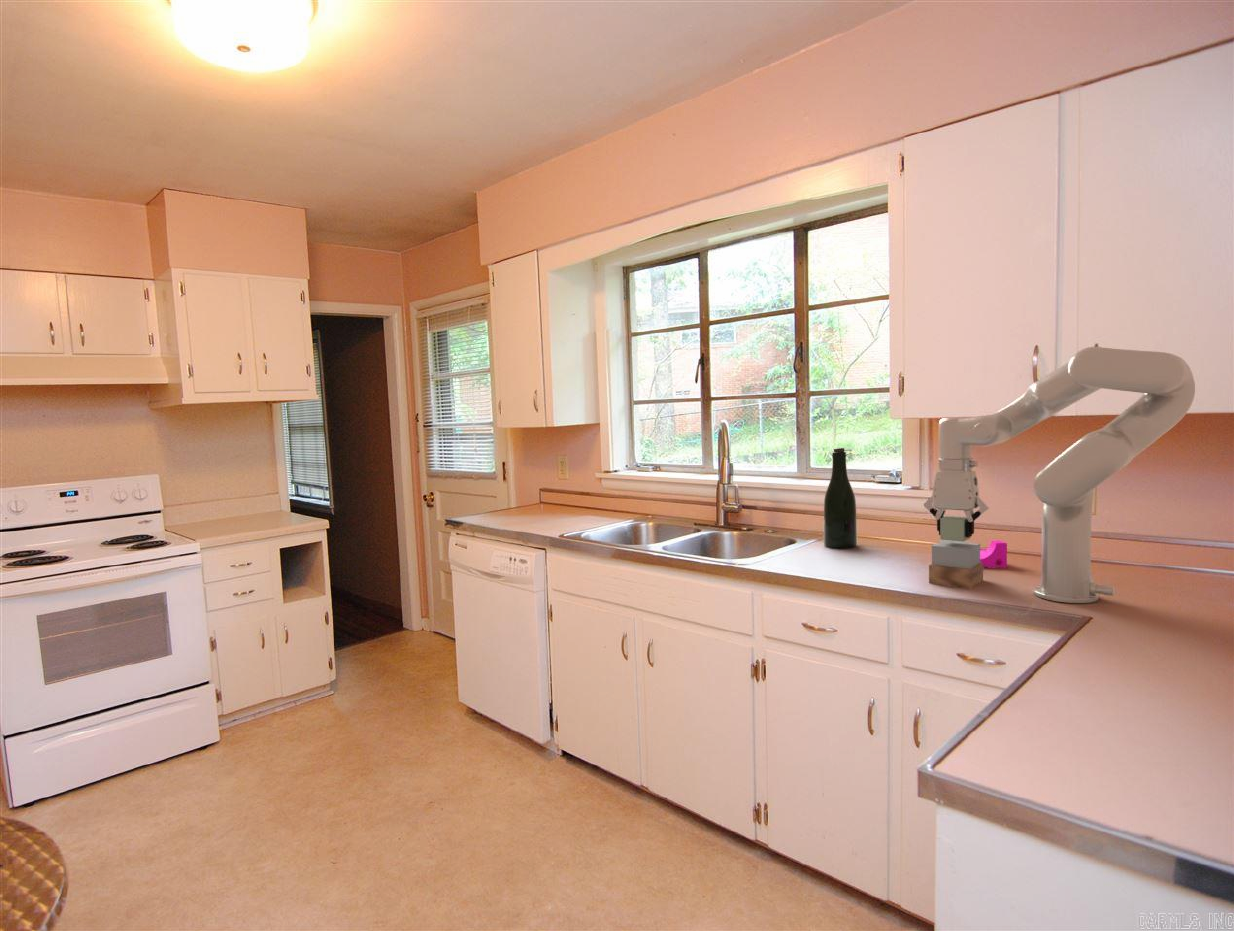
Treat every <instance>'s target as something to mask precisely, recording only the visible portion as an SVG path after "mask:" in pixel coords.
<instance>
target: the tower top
mask: <svg viewBox="0 0 1234 931" xmlns="http://www.w3.org/2000/svg"><path fill="white" fill-rule="evenodd" d="M980 551H981V543H978V542H969V541H964V542H962V541H951V540H940V541H938V542H936V543H934V544H933V545H931V564H932V565H938V566H946V567H955V568H963V569H971V568H973V567H974V566H976V565H977V564H979V563H980Z"/></svg>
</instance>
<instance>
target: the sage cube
mask: <svg viewBox="0 0 1234 931" xmlns="http://www.w3.org/2000/svg"><path fill="white" fill-rule="evenodd" d="M965 522H967V517H966V516H962V515H959V516H958V515H944V517H942V518H940V535H939V538H940V541H942V540H948V541H959V542H967V541H968V540H970V539H971V537H969V538H968V537H965Z"/></svg>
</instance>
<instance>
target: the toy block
mask: <svg viewBox="0 0 1234 931" xmlns="http://www.w3.org/2000/svg"><path fill="white" fill-rule="evenodd" d="M980 562H981V563H983V567H1007V568H1008V543H1007V542H1005V541H1003V540H990V544H989V546H988V548H986V549H985V548H984V549H980Z"/></svg>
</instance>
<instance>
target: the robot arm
mask: <svg viewBox="0 0 1234 931" xmlns="http://www.w3.org/2000/svg"><path fill="white" fill-rule="evenodd" d="M1195 383H1196V382H1195V378H1194V375H1193V372H1192V370H1191V367H1190V366H1189V364H1188V363H1187V362H1186V360H1184V359H1183V358H1182V357H1180V356H1178V355H1176V354H1173V353H1169V352H1162V351H1154V350H1153V351H1151V350H1149V351H1148V350H1137V349H1136V350H1135V349H1121V348H1110V347H1109V348H1108V347H1102V346H1090V347H1089V346H1088V347H1085V348H1083V349H1081V350H1079V351H1077V352H1076V353H1075V354H1073V356H1072V357H1071V358H1070V360H1069V361H1068V362H1067V363H1065V364H1063V365H1062V366H1060V367H1058V368H1057V369H1055V370H1053V371H1052V372H1050V373H1048V374H1046V375H1045V376H1043V377H1041V378H1040V379H1038V380H1036V381H1035V382H1032V384H1030V386H1029V387H1028V388H1027V389H1026V391H1025V393H1023V394H1022V395H1021V396H1020V397H1018V398H1017V399H1016V400H1014V401H1013V402H1011V403H1009V404H1008V405H1006V406H1004V407H1003V408H1001V409H1000V410H998V411H996V412H994V413H992V414H987V415H986V414H985V415H980V416H974V417H973V416H972V417H967V416H966V417H965V416H953V417H949V416H948V417H943V418H941V419H940V420H939V421H938V470H936V471H935V474H934V481H933V488H932V495H931V496H930V498H928V500H926V501H925V502H924V504H923V507H924V508H926V510H927V511H929V512H930V514H931V515H932V516H933V517H934V519H936V530H937V532H938V535H939V536H940V518H942V517H945V513H946V511H948V510H952V511H963V512H964V515H965V517H967V522H965V537H968V538H969V537H970V538H971V537H972V536H973V535H974V533H975V521H976V519H978V518H979V517H981V515H983V514H984V513H985V512H987V511H988V510H989V506H988V505H987V504H986V503H985V502H984V501H983V500H982V499H981V498H980V492H979V491H980V490H979V482H978V477H977V473H976V471H977V470H972V469H973V468H974V467H979V466H978V465H979V462H978V460H976V461H975V460H973V458H972V457H973V448H972V446H979V447H990V446H994V445H999V444H1002V443H1005V442H1007V441H1009V440H1011V439H1013V438H1014V437H1016V436H1018V435H1020V434H1022V433H1023V432H1025V431H1027V430H1029V429H1031V428H1032V427H1034V426H1036V425H1037V424H1039V423H1041V422H1043V421H1045V420H1046V419H1048V418H1052V416H1054V415H1055V414H1057V413H1059V412H1060V411H1062V410H1065V409H1066V408H1068V407H1069V406H1071V405H1073V404H1075V403H1076V402H1078V401H1080V400H1081V399H1084V398H1085V397H1087V396H1090V395H1091V394H1093V393H1095V392H1097V391H1098V390H1101V389H1104V390H1105V389H1106V390H1111V391H1121V392H1122V391H1123V392H1131V393H1141V396H1140V398H1138V399H1137V401H1135V402H1133V404H1132V405H1130V406H1129V407H1127V408H1126V409H1124V411H1122V412H1121V414H1119V415H1118V416H1116V417H1115V418H1114V419H1113V420H1111V421H1110V422H1109V423H1107V424H1106V425H1104V426H1103V427H1102V428H1099V429H1097V430H1094V431H1091V432H1089V433H1086V434H1085V435H1083V436H1082V437H1081V438H1080V439H1078V440H1076V441H1075V442H1074V443H1073V444H1072V445H1070V446H1069V447H1068V448H1067V449H1066V450H1064V451H1063V452H1062V453H1061V454H1059V455H1058V456H1056V457H1055V458H1054V459H1053V460H1052V461H1050V462H1049V463H1048V464H1047V465H1045V466H1044V467H1043V468H1042V469H1041V470H1039V471H1038V473H1037V474H1036V476H1035V477H1034V480H1033V487H1032V488H1033V492H1034V494H1035V496H1036V497H1037V499H1038V500H1039V501H1040V502H1042V512H1041V558H1040V559H1041V565H1040V566H1041V572H1040V573H1041V574H1040V575H1041V576H1040V577H1041V579H1040V581H1041V582H1040V583H1041V584H1040V585H1037V586H1035V587H1034V588H1033V594H1034V595H1035V596H1036V597H1038V598H1041V599H1044V600H1047V601H1053V602H1059V603H1065V604H1066V603H1067V604H1068V603H1069V604H1089V603H1090V604H1091V603H1095V602H1097V601H1098V600H1099V595H1104V596H1110V597H1111V596H1112V597H1114V594H1115V588H1114V586H1110V585H1107V584H1098V583H1097V582H1095V578H1094V577H1091V561H1092V560H1091V557H1092V556H1091V554H1092V552H1091V551H1092V550H1091V549H1092V516H1093V515H1092V514H1093V502H1094V500H1093V499H1094V491H1095V489H1096V488H1097V487H1099V486H1100V485H1101V484H1103V483H1104V482H1105V481H1106V480H1108V479H1109V478H1111V477H1112V476H1113V475H1115V474H1116V473H1117V472H1119V471H1120V470H1122V469H1124V468H1125V467H1126V466H1128V465H1129V464H1130V463H1131V461H1133V460H1134V459H1135V457H1137V456H1138V455H1139V454H1140V453H1142V452H1144V450H1145V449H1147V448H1149V447H1150V446H1151V445H1153V444H1154V443H1155V442H1156V441H1157V440H1159V439H1160V438H1161V437H1162V436H1164V435H1165V434H1166V433H1168V432H1169V431H1170V430H1172V429H1173V428H1174V427H1175V426H1176V425H1177V424H1178V423H1179V422H1180V421H1182V419H1183V418H1184V417H1185V415H1187V413H1188V412H1189V410H1190V408H1191V406H1192V404H1193V401H1194V398H1195V394H1196V384H1195ZM977 508H979V509H978V510H976V511H974V509H977Z"/></svg>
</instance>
